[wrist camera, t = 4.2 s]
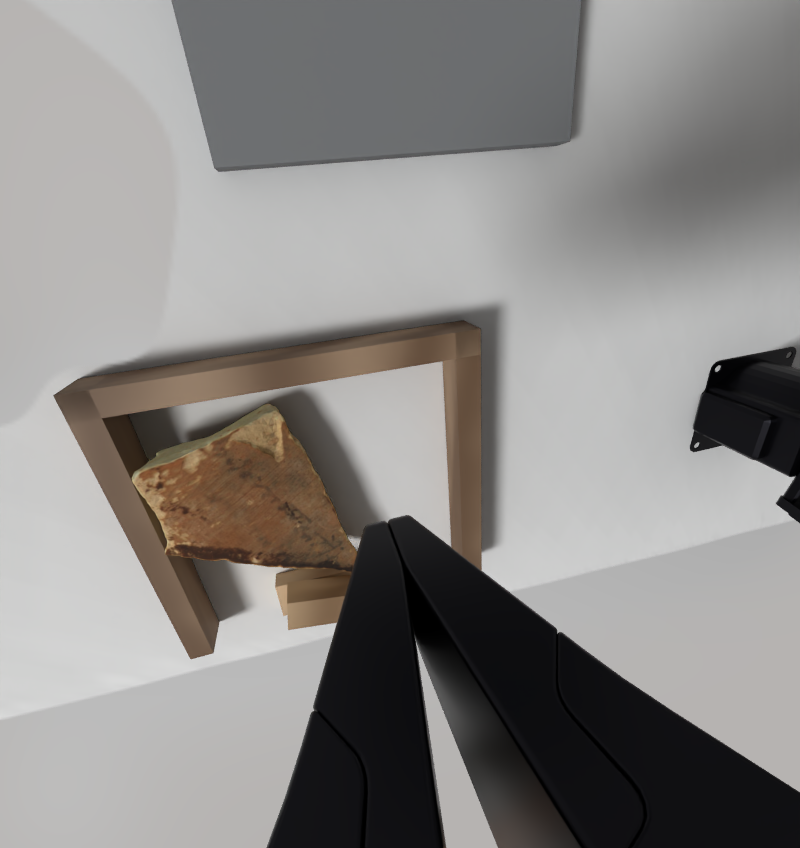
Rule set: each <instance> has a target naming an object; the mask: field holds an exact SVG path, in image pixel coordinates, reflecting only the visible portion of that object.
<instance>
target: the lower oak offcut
mask: <svg viewBox="0 0 800 848" xmlns="http://www.w3.org/2000/svg"><path fill="white" fill-rule="evenodd" d="M351 573H352V572H348V571H344V570H336V569H325V568H322V569H307V568H301V569H297V570H292V571H288V572H283V573H279V574H276V585H275V588H276V591H277V595H278V598H279V602H280V605H281V609H282V612H283V616H285V615H288V612H287V582H294V581H302V580H311V579H319V578H327V577H335V576H343V575H351Z"/></svg>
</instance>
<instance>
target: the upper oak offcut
mask: <svg viewBox="0 0 800 848" xmlns="http://www.w3.org/2000/svg"><path fill="white" fill-rule="evenodd" d="M350 576H351V575H343V576H335V577H327V578H319V579H311V580H302V581H294V582H287V612H288V630H291V629H298V628H304V627H311V626H317V625H324V624H331V623H337V621H338V618H339V614H340V611H341V607H342V604H343V600H344V597H345V593H346V590H347V587H348V583H349V580H350Z"/></svg>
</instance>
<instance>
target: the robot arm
mask: <svg viewBox="0 0 800 848" xmlns="http://www.w3.org/2000/svg"><path fill="white" fill-rule="evenodd" d="M790 351H791V352H792V354H791V356H790V357H789V358H786V355H787V353H788V352H790ZM795 354H796V349H795V348H794V347H789V348H784V349H779V350H773V351H768V352H763V353H758V354H752V355H747V356H742V357H737V358H731V359H726V360H721V361H718V362H716V363H715V364H714V365H713V366H712V367H711V370H710V373H709V377H708V381H707V385H706V389H705V392H704V393H703V394H702V395H701V399H700V403H699V406H698V410H697V414H696V418H695V422H694V425H693V429H694V434H693V437H692V441H691V445H690V450H691V451H693V452H697V451H701V450H705V449H710V448H714V447H718V446H722V445H723V446H725V447H727V448H729V449H732V450H734V451H736V452H738V453H740V454H742V455H744V456H746V457H748V458H750V459H752V460H756V461H758V462H761V463H763V464H765V465H767V466H769V467H771V468H773V469H775V470H777V471H779V472H781V473H783V474H785V475H787V476H789V477H793V476H794V477H795V478H794V480H793V481H792V483H791V485H790V486H789V488H788V489H787V491H786V492H785V494H784V495H783V496H780V498H779V499H778V501H777V502H776V504H777V505H778V506H779V507H781V508H782V509H783V510H785V511H786V512H788V513H789V515H790V516H791V517H792V518H794V519H795V520H796V521H798V522H799V523H800V369H797V368H793V367H791V365H792V363H793V360H794V357H795ZM718 365H720V366H721V368H720V370H719V371H718V372H715V368H716V367H717V366H718ZM697 442H699V446H698V447H697V448H694V445H695V444H696V443H697ZM415 639H416V641H415ZM416 642H417V645H418V648H419V651H420V653H421V656H422V659H423V661H424V664H425V666H426V669H427V671H428V674H429V676H430V679H431V681H432V684H433V686H434V689H435V691H436V693H437V696H438V699H439V701H440V704H441V706H442V709H443V711H444V714H445V716H446V718H447V721H448V724H449V726H450V729H451V731H452V734H453V736H454V738H455V741H456V744H457V746H458V749H459V751H460V754H461V756H462V758H463V761H464V763H465V766H466V769H467V771H468V774H469V776H470V779H471V781H472V784H473V786H474V789H475V791H476V793H477V796H478V799H479V801H480V804H481V806H482V809H483V811H484V814H485V816H486V819H487V821H488V824H489V826H490V829H491V831H492V833H493V836H494V838H495V841H496V844H497V846H498V848H800V792H798V791H797V790H795V789H794V788H792V787H791V786H789V785H787V784H786V783H784V782H783V781H781V780H780V779H778V778H776V777H775V776H773V775H772V774H770V773H769V772H767V771H766V770H764V769H762V768H761V767H759V766H758V765H756V764H755V763H753V762H752V761H750V760H748V759H747V758H745V757H744V756H742V755H741V754H739V753H737V752H736V751H734V750H733V749H731V748H730V747H728V746H727V745H725V744H723V743H722V742H720V741H719V740H717V739H716V738H714V737H712V736H711V735H709V734H708V733H706V732H705V731H703V730H702V729H700V728H698V727H697V726H695V725H694V724H692V723H691V722H689V721H687V720H686V719H684V718H683V717H681V716H679V715H678V714H676V713H675V712H673V711H672V710H670V709H669V708H667V707H666V706H664V705H663V704H661V703H660V702H658V701H657V700H655V699H654V698H652V697H651V696H649V695H648V694H646V693H645V692H643V691H642V690H640V689H639V688H637V687H636V686H634V685H633V684H631V683H629V682H628V681H627V680H625V679H624V678H622V677H621V676H620V675H618V674H617V673H616V672H614V671H612V670H611V669H610V668H609V667H607V666H606V665H604V664H603V663H602V662H600V661H599V660H598V659H596V658H595V657H594V656H592V655H591V654H590V653H588V652H587V651H585V650H584V649H583V648H581V647H580V646H579V645H578V644H576V643H575V642H574V641H572V640H571V639H570V638H569V637H567V636H566V635H565V634H563V633H562V632H559V633H558V634H557V629H556V628H555V627H554V626H553V625H551V624H550V623H549V622H548V621H546V620H545V619H544V618H542V617H541V616H540V615H538V614H537V613H536V612H535V611H533V610H532V609H531V608H529V607H528V606H527V605H525V604H524V603H523V602H522V601H520V600H519V599H518V598H516V597H515V596H514V595H512V594H511V593H510V592H509V591H507V590H506V589H505V588H503V587H502V586H501V585H499V584H498V583H497V582H496V581H494V580H493V579H492V578H490V577H489V576H488V575H486V574H485V573H484V572H483V571H481V570H480V569H479V568H477V567H476V566H475V565H473V564H472V563H471V562H470V561H468V560H467V559H466V558H464V557H463V556H462V555H460V554H459V553H458V552H457V551H455V550H454V549H453V548H451V547H450V546H449V545H447V544H446V543H445V542H444V541H442V540H441V539H440V538H438V537H437V536H436V535H434V534H433V533H432V532H431V531H429V530H428V529H427V528H425V527H424V526H423V525H421V524H420V523H419V522H418V521H416V520H415V519H414V518H412V517H411V516H409V515H405V516H401V517H397V518H393V519H390V520H389V521H388V523H387V522H385V521H381V522H377V523H374V524H370V525H367V526H366V527H365V528H364V531H363V534H362V538H361V541H360V545H359V548H358V552H357V555H356V559H355V562H354V566H353V569H352V573H351V576H350V580H349V583H348V587H347V590H346V593H345V597H344V600H343V604H342V607H341V611H340V614H339V618H338V621H337V625H336V628H335V632H334V635H333V639H332V642H331V646H330V649H329V653H328V656H327V660H326V663H325V667H324V670H323V674H322V677H321V681H320V684H319V688H318V691H317V695H316V698H315V702H314V705H313V708H314V711H313V712H312V713H311V715H310V718H309V722H308V725H307V729H306V732H305V735H304V739H303V742H302V746H301V749H300V752H299V755H298V758H297V762H296V765H295V768H294V771H293V774H292V777H291V780H290V784H289V787H288V790H287V794H286V796H285V799H284V802H283V805H282V807H281V810H280V813H279V815H278V818H277V821H276V824H275V827H274V829H273V832H272V834H271V837H270V840H269V843H268V845H267V848H446V844H445V837H444V830H443V823H442V816H441V809H440V802H439V796H438V789H437V783H436V775H435V769H434V762H433V755H432V749H431V741H430V735H429V728H428V721H427V715H426V708H425V701H424V694H423V687H422V680H421V674H420V667H419V660H418V654H417V647H416Z"/></svg>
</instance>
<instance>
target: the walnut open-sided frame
mask: <svg viewBox="0 0 800 848" xmlns="http://www.w3.org/2000/svg"><path fill="white" fill-rule="evenodd" d="M440 361H443V380H444V401H445V421H446V442H447V463H448V484H449V505H450V526H451V547H452V548H453V549H454V550H455V551H457V552H458V553H459V554H460V555H462V556H463V557H464V558H466V559H467V560H468V561H470V562H471V563H472V564H473V565H475V566H476V567H477V568H479V569H480V570H481V571H482V567H481V329H480V328H478V327H476V326H474V325H472V324H470V323H468V322H466V321H464V320H463V321H456V322H450V323H443V324H437V325H430V326H423V327H417V328H410V329H404V330H397V331H390V332H384V333H377V334H371V335H364V336H357V337H351V338H344V339H337V340H331V341H324V342H318V343H311V344H304V345H298V346H291V347H285V348H278V349H271V350H265V351H258V352H252V353H245V354H238V355H232V356H225V357H218V358H212V359H205V360H199V361H192V362H185V363H179V364H172V365H166V366H159V367H152V368H146V369H139V370H133V371H126V372H119V373H113V374H106V375H99V376H93V377H86V378H80V379H77V380H76V381H74V382H73V383H71V384H70V385H68V386H67V387H65V388H64V389H62V390H61V391H59V392H58V393H56V394H55V395H53V396H54V398H55V400H56V402H57V404H58V406H59V407H60V409H61V411H62V413H63V415H64V417H65V419H66V421H67V423H68V425H69V427H70V429H71V430H72V432H73V434H74V436H75V438H76V440H77V442H78V444H79V446H80V448H81V450H82V452H83V454H84V455H85V457H86V459H87V461H88V463H89V465H90V467H91V469H92V471H93V473H94V475H95V477H96V478H97V480H98V482H99V484H100V486H101V488H102V490H103V492H104V494H105V496H106V498H107V500H108V502H109V503H110V505H111V507H112V509H113V511H114V513H115V515H116V517H117V519H118V521H119V523H120V525H121V527H122V528H123V530H124V532H125V534H126V536H127V538H128V540H129V542H130V544H131V546H132V548H133V550H134V551H135V553H136V555H137V557H138V559H139V561H140V563H141V565H142V567H143V569H144V571H145V573H146V575H147V576H148V578H149V580H150V582H151V584H152V586H153V588H154V590H155V592H156V594H157V596H158V598H159V599H160V601H161V603H162V605H163V607H164V609H165V611H166V613H167V615H168V617H169V619H170V621H171V623H172V624H173V626H174V628H175V630H176V632H177V634H178V636H179V638H180V640H181V642H182V644H183V646H184V648H185V649H186V651H187V653H188V655H189V657H190V659H194V658H197V657H201V656H205V655H208V654H212V653H214V647H215V642H216V637H217V632H218V627H219V621H218V619H217V616H216V614H215V612H214V609H213V607H212V605H211V603H210V600H209V598H208V596H207V594H206V591H205V589H204V587H203V585H202V582H201V580H200V578H199V575H198V573H197V571H196V569H195V566H194V564H193V562H192V560H191V558H184V557H181V556H172V555H165V549H166V547H167V539H166V537H165V534H164V532H163V529H162V526H161V523H160V521H159V519H158V518H157V516H156V513H155V512H154V511H153V510H152V508H151V507H150V505H149V504H148V503H147V501H146V499H145V498H144V497H143V496H142V495H141V494H140V492H139V491H138V490H137V488H136V486H135V485H134V484H133V482H132V476H133V474H134V472H135V471H137V470H138V469H140V468H141V467H143V466H144V465H145V464H147V462H148V460H147V458H146V455H145V453H144V451H143V448H142V446H141V444H140V442H139V439H138V437H137V435H136V433H135V430H134V428H133V426H132V424H131V421H130V419H129V417H128V414H130V413H136V412H142V411H148V410H154V409H160V408H166V407H172V406H178V405H184V404H190V403H196V402H202V401H208V400H214V399H220V398H226V397H232V396H238V395H244V394H249V393H255V392H261V391H267V390H273V389H279V388H285V387H291V386H297V385H303V384H309V383H315V382H321V381H327V380H333V379H339V378H345V377H351V376H357V375H363V374H369V373H375V372H381V371H386V370H392V369H398V368H404V367H410V366H416V365H422V364H428V363H434V362H440Z"/></svg>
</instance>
